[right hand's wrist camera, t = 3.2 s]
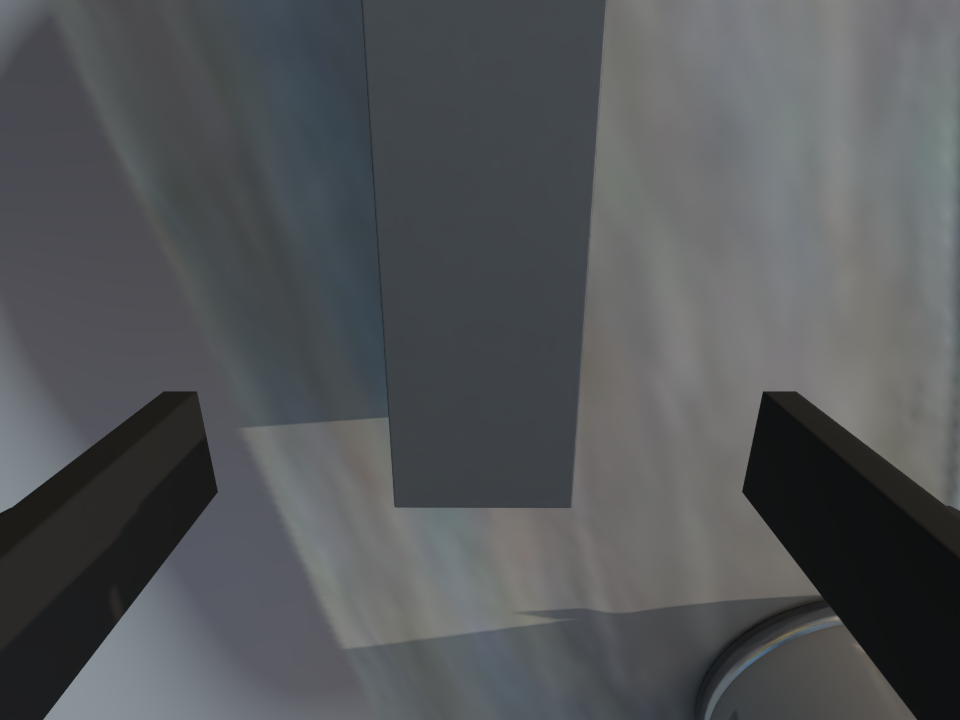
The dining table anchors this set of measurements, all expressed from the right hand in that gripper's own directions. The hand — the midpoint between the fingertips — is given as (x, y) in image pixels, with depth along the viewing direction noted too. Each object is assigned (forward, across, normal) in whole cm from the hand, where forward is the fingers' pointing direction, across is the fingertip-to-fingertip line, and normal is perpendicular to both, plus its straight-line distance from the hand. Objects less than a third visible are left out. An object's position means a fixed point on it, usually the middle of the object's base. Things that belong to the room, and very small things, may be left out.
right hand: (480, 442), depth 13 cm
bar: (+12, 0, -33) cm, 35 cm away
